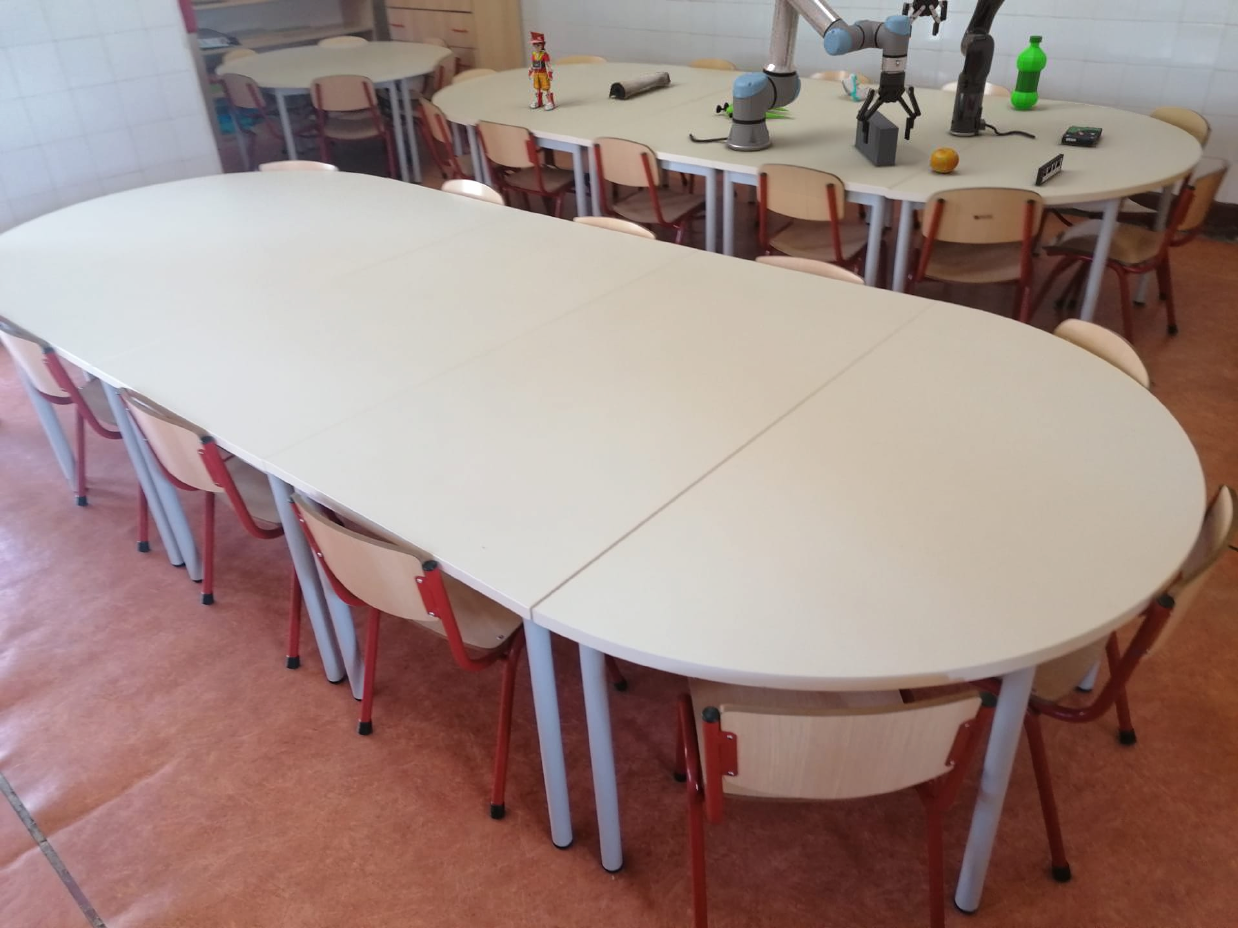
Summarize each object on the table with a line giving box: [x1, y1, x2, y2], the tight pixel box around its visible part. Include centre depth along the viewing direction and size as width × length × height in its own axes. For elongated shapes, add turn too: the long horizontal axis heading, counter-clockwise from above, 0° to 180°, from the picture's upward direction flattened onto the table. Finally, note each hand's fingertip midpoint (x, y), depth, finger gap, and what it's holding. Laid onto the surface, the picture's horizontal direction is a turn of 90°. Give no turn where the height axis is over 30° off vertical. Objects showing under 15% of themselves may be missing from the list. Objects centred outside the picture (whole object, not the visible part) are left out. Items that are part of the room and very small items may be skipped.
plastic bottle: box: [1010, 35, 1048, 111], centre depth 335 cm, size 10×10×25 cm
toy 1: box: [527, 31, 556, 111], centre depth 374 cm, size 12×9×30 cm
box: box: [854, 108, 900, 167], centre depth 300 cm, size 25×6×12 cm, turn 3°
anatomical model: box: [841, 72, 870, 102], centre depth 366 cm, size 15×10×10 cm
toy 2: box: [715, 101, 793, 119], centre depth 353 cm, size 28×5×30 cm
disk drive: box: [1060, 125, 1103, 147], centre depth 304 cm, size 10×3×15 cm
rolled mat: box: [608, 71, 672, 101], centre depth 395 cm, size 30×9×10 cm
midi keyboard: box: [1035, 153, 1065, 186], centre depth 273 cm, size 18×1×5 cm, turn 138°
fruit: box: [929, 147, 960, 174], centre depth 283 cm, size 8×8×8 cm
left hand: (886, 141), depth 291 cm, fingers open, 13 cm apart
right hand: (921, 36), depth 295 cm, fingers open, 8 cm apart
